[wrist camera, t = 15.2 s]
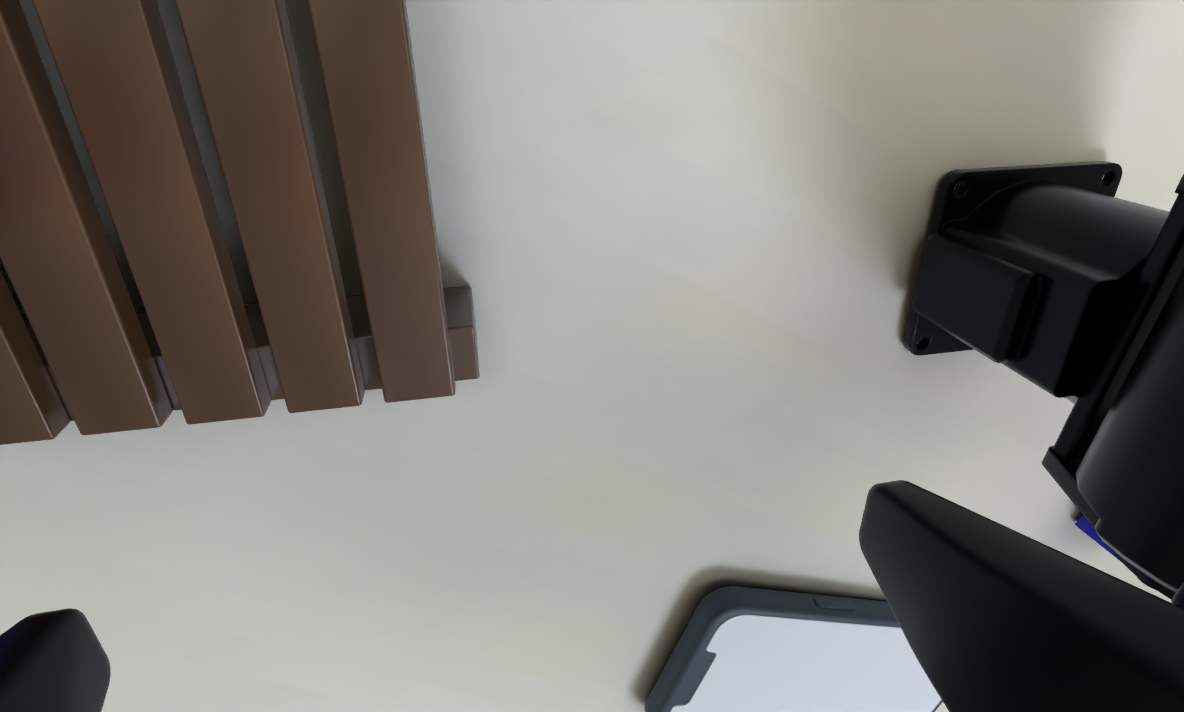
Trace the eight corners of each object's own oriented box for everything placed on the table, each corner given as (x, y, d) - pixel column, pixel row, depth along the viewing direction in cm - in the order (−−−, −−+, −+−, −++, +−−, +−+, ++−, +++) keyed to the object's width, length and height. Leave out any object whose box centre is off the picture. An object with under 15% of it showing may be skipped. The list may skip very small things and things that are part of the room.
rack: (411, -258, 14) (386, -431, 9) (476, 333, 20) (483, 441, 15) (-620, -311, 11) (-1592, -614, 6) (-163, 393, 17) (-428, 550, 12)
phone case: (980, 603, 32) (707, 573, 27) (1005, 629, 31) (721, 604, 26) (891, 717, 36) (632, 711, 30) (910, 746, 34) (642, 745, 29)
